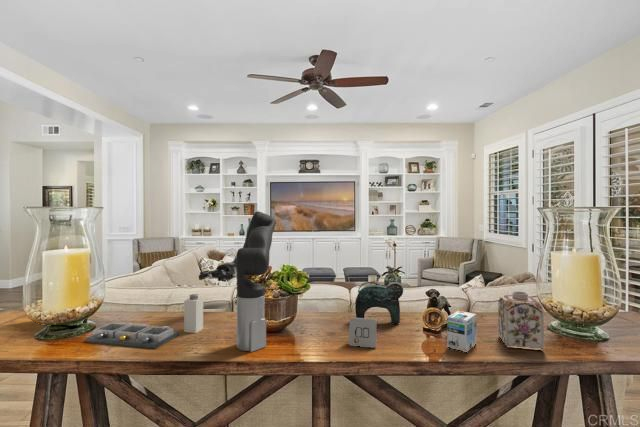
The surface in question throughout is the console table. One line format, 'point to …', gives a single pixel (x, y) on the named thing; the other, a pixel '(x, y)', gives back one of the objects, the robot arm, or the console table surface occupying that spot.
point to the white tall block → (193, 314)
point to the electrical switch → (362, 332)
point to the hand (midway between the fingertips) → (209, 278)
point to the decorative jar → (521, 320)
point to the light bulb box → (461, 330)
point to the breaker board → (132, 335)
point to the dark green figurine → (380, 298)
